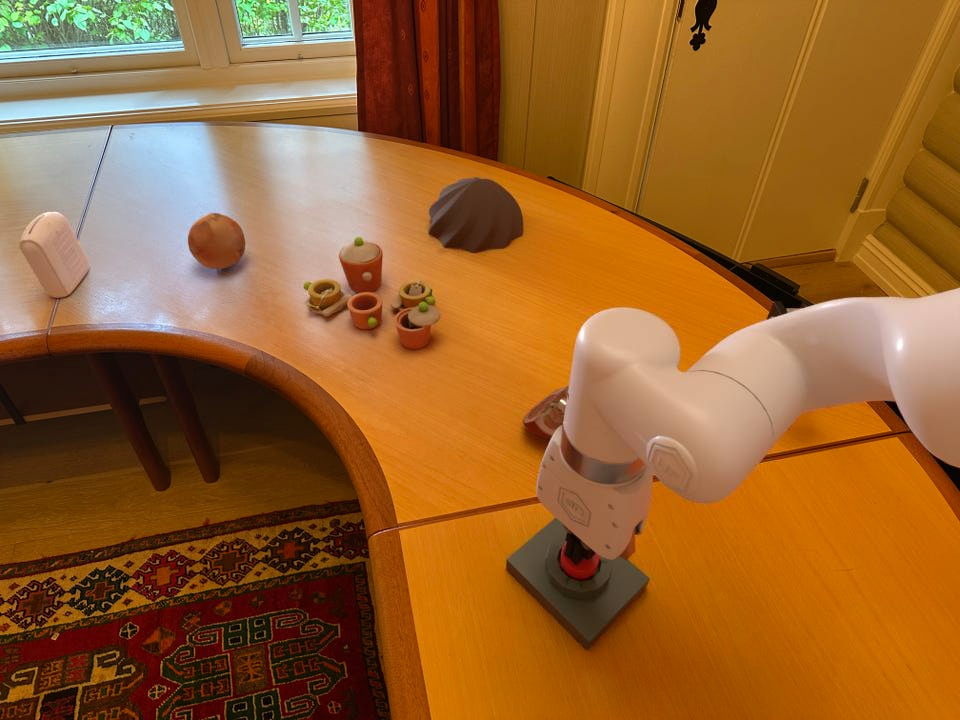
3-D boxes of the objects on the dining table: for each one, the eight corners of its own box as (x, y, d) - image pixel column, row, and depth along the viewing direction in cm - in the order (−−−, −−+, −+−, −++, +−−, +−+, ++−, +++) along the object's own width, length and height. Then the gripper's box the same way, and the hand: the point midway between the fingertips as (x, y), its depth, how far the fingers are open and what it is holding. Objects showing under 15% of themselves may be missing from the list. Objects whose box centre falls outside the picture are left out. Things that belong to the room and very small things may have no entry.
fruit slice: (547, 399, 87) (549, 375, 84) (586, 422, 84) (591, 397, 81) (512, 434, 83) (513, 409, 79) (553, 459, 80) (556, 434, 76)
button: (605, 563, 65) (607, 555, 64) (580, 587, 63) (582, 579, 62) (577, 538, 67) (578, 530, 66) (552, 560, 65) (553, 552, 64)
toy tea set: (294, 308, 103) (281, 260, 96) (353, 264, 113) (346, 218, 106) (418, 364, 93) (414, 314, 86) (472, 310, 103) (472, 262, 96)
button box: (646, 588, 67) (653, 570, 64) (586, 650, 62) (591, 634, 59) (565, 517, 73) (568, 498, 70) (505, 569, 68) (506, 550, 66)
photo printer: (71, 265, 112) (37, 205, 104) (94, 265, 112) (63, 204, 104) (45, 299, 105) (7, 237, 96) (70, 298, 105) (35, 236, 96)
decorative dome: (505, 261, 114) (506, 213, 107) (410, 239, 119) (406, 193, 112) (536, 213, 127) (540, 168, 120) (450, 196, 132) (449, 151, 125)
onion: (210, 248, 117) (193, 201, 110) (259, 251, 116) (246, 204, 109) (187, 277, 110) (167, 228, 103) (240, 280, 109) (224, 232, 102)
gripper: (512, 413, 53) (505, 526, 66) (651, 525, 45) (612, 629, 58) (569, 374, 57) (552, 487, 70) (707, 471, 49) (659, 579, 62)
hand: (579, 551), depth 64 cm, fingers closed
